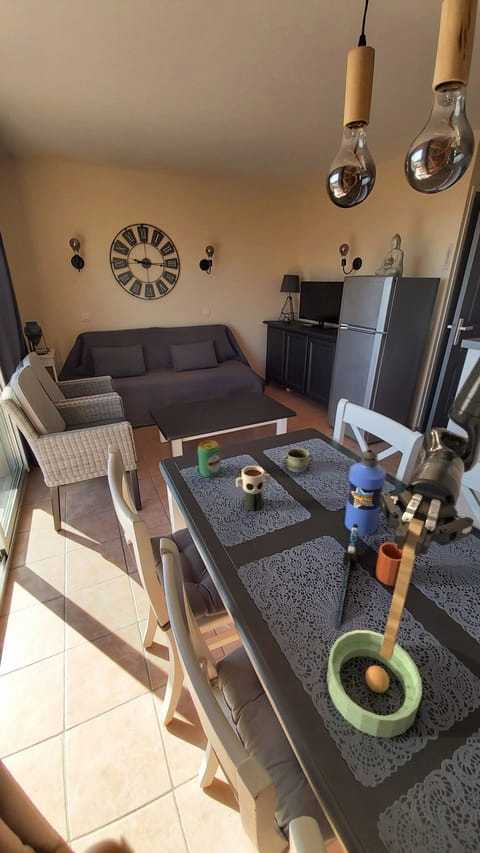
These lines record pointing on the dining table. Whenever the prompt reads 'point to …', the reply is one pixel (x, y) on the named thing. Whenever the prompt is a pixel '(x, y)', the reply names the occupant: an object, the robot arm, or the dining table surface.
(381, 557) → the holder
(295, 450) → the vessel
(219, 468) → the beverage can
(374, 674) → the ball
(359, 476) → the water bottle
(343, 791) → the dining table surface
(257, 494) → the character mug
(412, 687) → the green faceted ring
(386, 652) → the stick
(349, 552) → the knife
